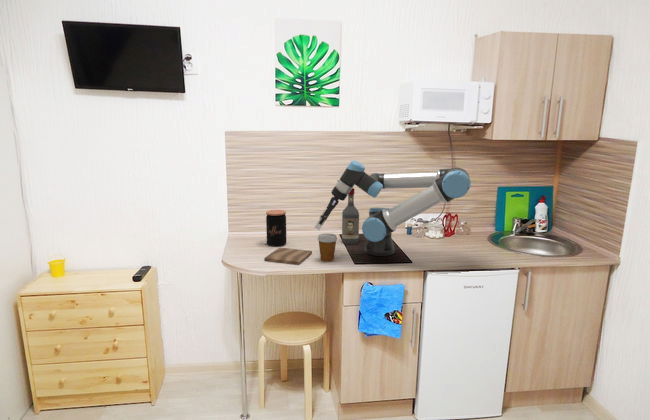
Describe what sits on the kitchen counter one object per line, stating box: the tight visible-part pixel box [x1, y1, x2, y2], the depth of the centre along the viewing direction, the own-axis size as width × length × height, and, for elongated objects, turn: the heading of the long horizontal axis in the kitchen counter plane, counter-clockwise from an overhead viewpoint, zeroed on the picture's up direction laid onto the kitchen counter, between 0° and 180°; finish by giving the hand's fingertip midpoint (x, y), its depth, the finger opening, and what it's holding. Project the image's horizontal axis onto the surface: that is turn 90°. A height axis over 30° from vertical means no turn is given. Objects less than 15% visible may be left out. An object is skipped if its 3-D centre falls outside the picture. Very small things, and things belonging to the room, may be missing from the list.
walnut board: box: [263, 246, 313, 266], centre depth 216 cm, size 18×18×2 cm
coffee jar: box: [265, 209, 287, 247], centre depth 237 cm, size 11×11×18 cm
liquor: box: [341, 187, 360, 245], centre depth 240 cm, size 9×9×30 cm
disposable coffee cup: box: [317, 232, 338, 262], centre depth 212 cm, size 10×10×12 cm
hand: (319, 224), depth 218 cm, fingers open, 13 cm apart
